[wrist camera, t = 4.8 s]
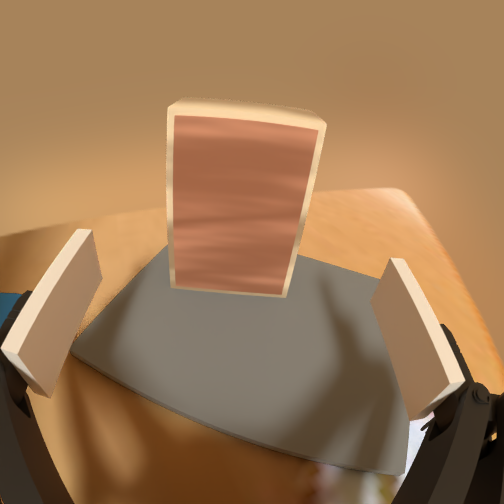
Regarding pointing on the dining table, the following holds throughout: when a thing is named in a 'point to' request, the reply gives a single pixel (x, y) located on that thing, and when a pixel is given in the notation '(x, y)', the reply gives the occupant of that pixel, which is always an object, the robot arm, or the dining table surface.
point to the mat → (262, 363)
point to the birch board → (238, 193)
